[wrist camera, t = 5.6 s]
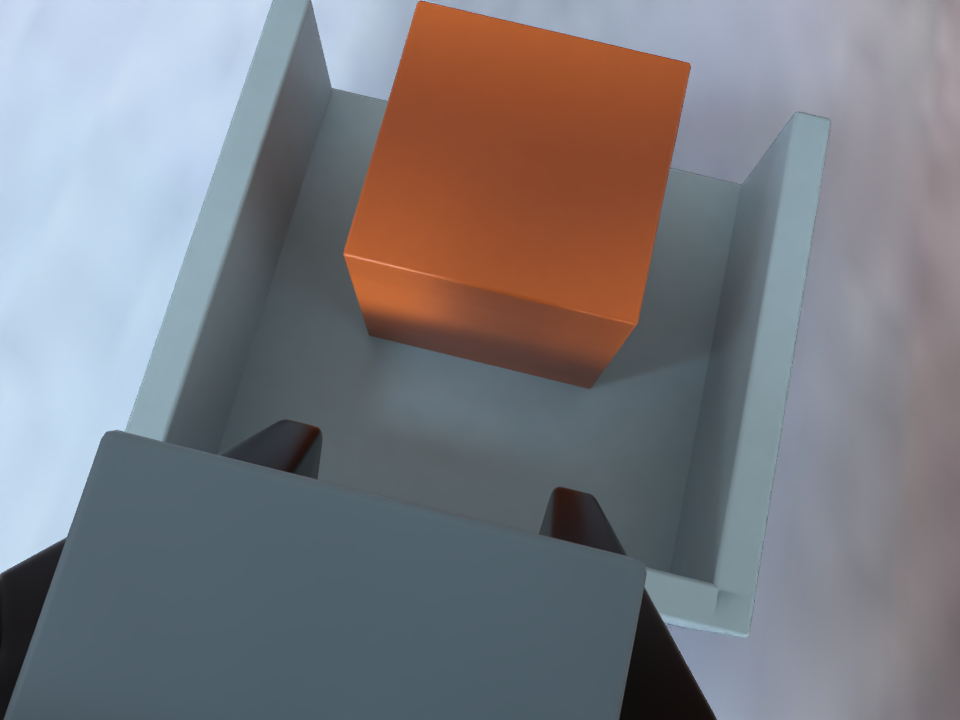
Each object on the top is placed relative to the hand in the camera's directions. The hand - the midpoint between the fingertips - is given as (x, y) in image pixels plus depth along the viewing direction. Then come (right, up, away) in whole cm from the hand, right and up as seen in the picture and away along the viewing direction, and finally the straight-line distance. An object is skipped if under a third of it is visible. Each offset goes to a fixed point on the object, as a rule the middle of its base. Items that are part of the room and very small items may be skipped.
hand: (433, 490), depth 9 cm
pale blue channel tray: (+1, +2, +7) cm, 7 cm away
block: (+1, +3, +7) cm, 8 cm away
